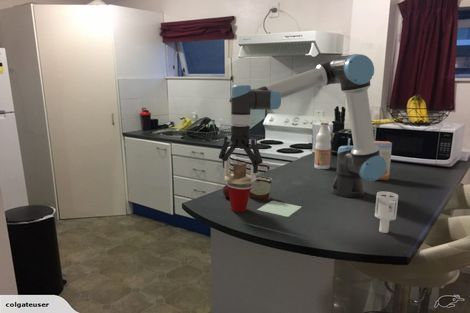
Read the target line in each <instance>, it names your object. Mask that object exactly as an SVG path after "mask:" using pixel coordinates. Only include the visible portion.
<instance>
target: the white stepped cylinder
mask: <svg viewBox="0 0 470 313" xmlns="http://www.w3.org/2000/svg"><path fill="white" fill-rule="evenodd" d="M398 202H399V194H397V193H395V192H392V191H377V192H376V199H375V209H374V217H375V218H377V219H379V229H378V230H379V231H378V232H380V233H384V234H388V233H389V230H390V221H395V220H396V219H397V212H398Z"/></svg>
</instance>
